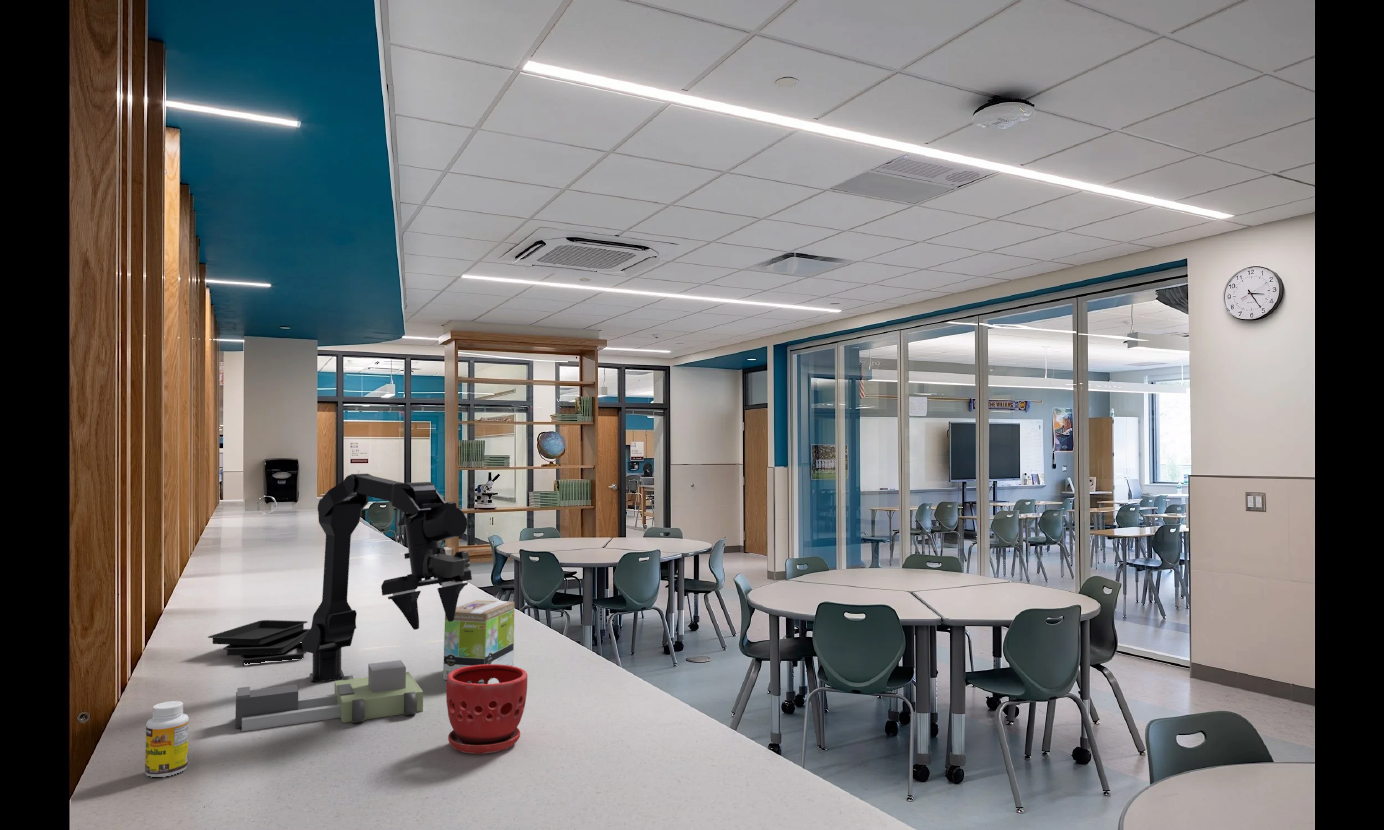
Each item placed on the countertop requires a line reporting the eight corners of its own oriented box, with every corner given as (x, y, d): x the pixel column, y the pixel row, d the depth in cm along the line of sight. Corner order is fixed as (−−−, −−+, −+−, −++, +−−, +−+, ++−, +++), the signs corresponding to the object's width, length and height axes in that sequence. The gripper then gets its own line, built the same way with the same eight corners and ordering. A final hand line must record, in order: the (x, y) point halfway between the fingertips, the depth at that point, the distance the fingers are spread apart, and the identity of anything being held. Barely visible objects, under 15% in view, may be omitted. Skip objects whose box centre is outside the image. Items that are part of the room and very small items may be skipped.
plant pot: (451, 764, 130) (452, 686, 131) (441, 738, 142) (441, 667, 143) (535, 752, 135) (535, 677, 136) (518, 727, 148) (518, 659, 148)
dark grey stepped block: (235, 719, 152) (236, 687, 153) (296, 710, 157) (296, 680, 157) (235, 728, 147) (235, 696, 148) (298, 719, 152) (298, 688, 152)
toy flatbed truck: (242, 707, 160) (242, 667, 160) (406, 685, 174) (406, 648, 174) (241, 742, 141) (242, 696, 141) (425, 715, 155) (426, 673, 155)
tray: (327, 657, 199) (328, 635, 199) (215, 673, 185) (216, 649, 186) (301, 635, 223) (302, 615, 224) (201, 647, 210) (201, 627, 210)
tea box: (486, 683, 176) (486, 612, 176) (441, 681, 178) (442, 610, 178) (515, 665, 191) (515, 599, 191) (474, 663, 193) (474, 598, 193)
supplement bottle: (135, 776, 126) (137, 708, 127) (168, 763, 131) (170, 697, 132) (164, 781, 125) (165, 711, 125) (196, 767, 130) (197, 700, 130)
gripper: (417, 541, 153) (429, 628, 151) (486, 534, 170) (498, 612, 167) (374, 551, 158) (385, 635, 156) (445, 543, 175) (456, 619, 172)
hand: (434, 625), depth 162 cm, fingers open, 9 cm apart
